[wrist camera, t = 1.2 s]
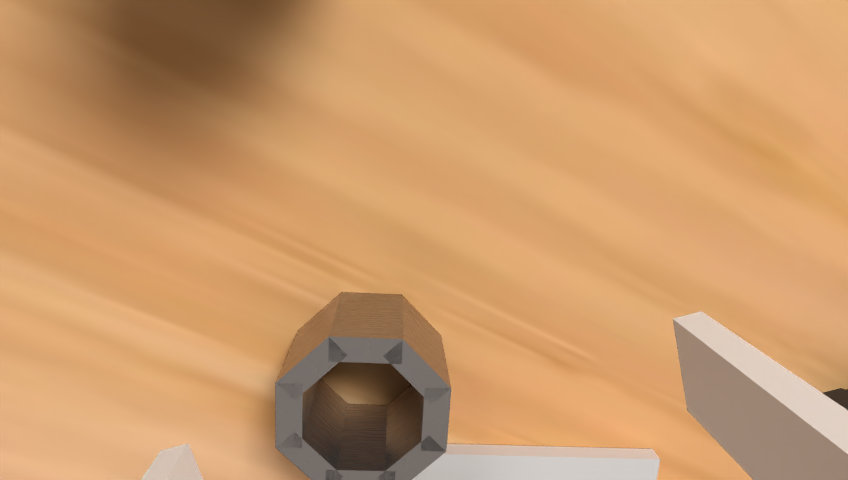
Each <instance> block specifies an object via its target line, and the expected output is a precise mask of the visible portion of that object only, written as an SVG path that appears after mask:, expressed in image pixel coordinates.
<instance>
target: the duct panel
mask: <svg viewBox="0 0 848 480" xmlns="http://www.w3.org/2000/svg"><path fill="white" fill-rule="evenodd" d="M659 463H660V459H659V457H658V456H657V455H656V453H655V452H654V450H653V449H635V448H595V447H555V446H515V445H475V444H447V448H446V452H445V453H444V454H443V455H442V456H440V457H439V458H438V459H437V460H435V461H434V462H433V463H432V464H430V465H429V466H428V467H427V468H426V469H424V470H423V471H422V472H421V473H419V474H418V475H417V476H416V477H414V478H413V479H412V480H657V474H658V469H659Z"/></svg>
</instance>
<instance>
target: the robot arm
mask: <svg viewBox="0 0 848 480" xmlns="http://www.w3.org/2000/svg"><path fill="white" fill-rule="evenodd" d="M673 324H674V330H675V336H676V342H677V349H678V355H679V361H680V367H681V374H682V380H683V386H684V392H685V399H686V405H687V411H688V412H689V413H690V414H691V415H692V416H693V417H694V418H695V419H696V420H697V421H698V422H699V423H700V424H701V425H702V426H703V427H704V428H705V430H706V431H707V432H708V433H709V434H710V435H711V436H712V437H713V438H714V439H715V440H716V441H717V442H718V443H719V444H720V445H721V446H722V447H723V448H724V449H725V451H726V452H727V453H728V454H729V455H730V456H731V457H732V458H733V459H734V460H735V461H736V462H737V463H738V464H739V465H740V466H741V467H742V468H743V469H744V471H745V472H746V473H747V474H748V475H749V476H750V477H751V478H752V479H753V480H848V390H845V389H842V388H840V389H836V390H832V391H828V392H824V393H821V392H820V391H818V390H817V389H815V388H814V387H813V386H811V385H810V384H808V383H807V382H805V381H804V380H802V379H801V378H799V377H798V376H796V375H795V374H793V373H792V372H790V371H789V370H787V369H786V368H784V367H783V366H781V365H780V364H779V363H777V362H776V361H774V360H773V359H771V358H770V357H768V356H767V355H765V354H764V353H762V352H761V351H759V350H758V349H756V348H755V347H753V346H752V345H750V344H749V343H747V342H746V341H745V340H743V339H742V338H740V337H739V336H737V335H736V334H734V333H733V332H731V331H730V330H728V329H727V328H725V327H724V326H722V325H721V324H719V323H718V322H716V321H715V320H713V319H712V318H711V317H709V316H708V315H706V314H705V313H703V312H702V311H701V312H697V313H693V314H689V315H685V316H681V317H677V318H673ZM141 480H203V478H202V475H201V473H200V470H199V468H198V465H197V463H196V460H195V458H194V455H193V453H192V451H191V448H190V446H189V443H188V444H184V445H180V446H177V447H173V448H169V449H165V450H161V451H160V452H159V454H158V455H157V457H156V458H155V460H154V461H153V463H152V464H151V465H150V467H149V468H148V470H147V471H146V473H145V474H144V476H143V477H142V479H141Z"/></svg>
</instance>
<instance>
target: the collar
mask: <svg viewBox="0 0 848 480" xmlns="http://www.w3.org/2000/svg"><path fill="white" fill-rule="evenodd" d="M339 362H355V363H385V364H391V365H392V366H393V367H394V368H395V369H396V370H397V371H398V372H399V373H400V374H401V375H402V376H403V377H404V378H405V379H406V380H407V381H408V382H409V383H410V384H411V386H409V387H408V388H407V389H406V390H405V391H403V392H402V393H401V394H400V395H399V396H397V397H396V398H395V399H394V400H393V401H391V402H390V403H389V404H388V405H368V404H347V403H346V402H345V401H344V400H343V399H342V398H341V397H340V396H339V395H338V394H336V393H335V392H334V391H333V390H332V389H331V388H330V387H329V386H328V385H327V384H326V383H325V382H324V381H323V380H322V379H321V377H323V376H324V375H325V374H326V373H327V372H328V371H330V370H331V369H332V368H333V367H334V366H335V365H336V364H338V363H339ZM450 397H451V385H450V380H449V375H448V369H447V364H446V359H445V354H444V349H443V344H442V338H441V335H440V334H439V333H438V332H437V331H436V330H435V329H434V328H433V327H432V326H431V325H430V324H429V323H428V322H427V321H426V320H425V318H424V317H423V316H422V315H421V314H420V313H419V312H418V311H417V310H416V309H415V308H414V307H413V306H412V305H411V304H410V303H409V302H408V301H407V300H406V299H405V298H404V297H403V296H402V295H396V294H371V293H347V292H341V293H340V294H339V295H338V296H337V297H336V298H335V299H333V300H332V301H331V302H330V303H329V304H328V305H327V306H325V307H324V308H323V309H322V310H321V311H320V312H319V313H318V314H316V315H315V316H314V317H313V318H312V319H311V320H310V321H308V322H307V323H306V324H305V325H304V326H303V327H302V328H300V329H299V330H298V332H297V335H296V337H295V339H294V342H293V344H292V346H291V348H290V351H289V353H288V355H287V358H286V360H285V362H284V365H283V367H282V369H281V371H280V374H279V376H278V378H277V381H276V448H277V449H278V450H279V451H280V452H281V453H282V454H283V455H284V456H285V457H287V458H288V459H289V460H290V461H291V462H292V463H293V464H294V465H296V466H297V467H298V468H299V469H300V470H301V471H302V472H303V473H304V474H306V475H307V476H308V477H309V478H310V479H311V480H412V479H413V478H414V477H416V476H417V475H418V474H419V473H421V472H422V471H423V470H424V469H426V468H427V467H428V466H429V465H430V464H432V463H433V462H434V461H435V460H437V459H438V458H439V457H440V456H442V455H443V454H444V453H445V452H446V448H447V435H448V423H449V410H450Z"/></svg>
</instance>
